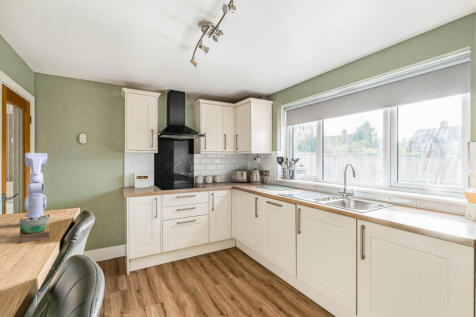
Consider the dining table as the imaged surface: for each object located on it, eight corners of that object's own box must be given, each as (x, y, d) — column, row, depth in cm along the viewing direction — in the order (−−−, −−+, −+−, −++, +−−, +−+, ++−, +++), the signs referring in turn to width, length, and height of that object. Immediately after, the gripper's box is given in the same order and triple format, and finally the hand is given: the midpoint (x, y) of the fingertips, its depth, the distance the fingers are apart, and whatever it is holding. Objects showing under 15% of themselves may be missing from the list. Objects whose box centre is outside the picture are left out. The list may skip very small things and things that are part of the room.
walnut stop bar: (21, 241, 108) (21, 235, 108) (48, 236, 115) (48, 230, 115) (21, 243, 106) (21, 236, 106) (48, 238, 113) (48, 232, 113)
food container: (21, 242, 107) (26, 223, 106) (15, 236, 109) (19, 218, 108) (51, 235, 118) (55, 218, 117) (45, 230, 121) (49, 213, 120)
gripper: (25, 204, 120) (25, 229, 120) (24, 209, 110) (24, 236, 109) (43, 202, 125) (42, 227, 125) (43, 207, 114) (43, 233, 114)
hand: (35, 231), depth 118 cm, fingers closed
